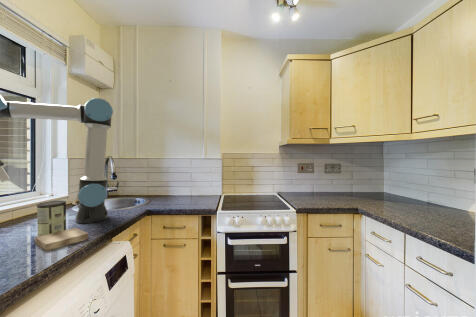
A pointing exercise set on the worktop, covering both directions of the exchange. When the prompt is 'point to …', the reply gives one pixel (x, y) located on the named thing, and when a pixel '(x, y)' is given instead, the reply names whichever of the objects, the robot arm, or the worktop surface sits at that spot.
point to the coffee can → (51, 217)
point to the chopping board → (60, 238)
